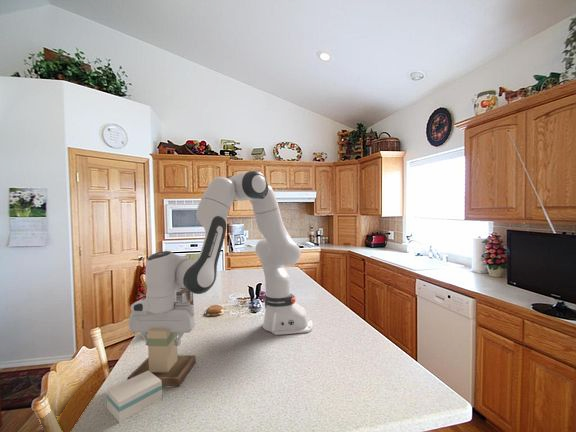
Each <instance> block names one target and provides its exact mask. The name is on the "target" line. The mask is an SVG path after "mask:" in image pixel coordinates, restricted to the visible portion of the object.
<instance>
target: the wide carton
mask: <svg viewBox="0 0 576 432" xmlns="http://www.w3.org/2000/svg"><path fill="white" fill-rule="evenodd" d="M161 398H162V399H163V386H162V380H160V379H159V378H158V377H156V376H155V375H154V374H152V373H151V372H150V371H146V372H144V373H142V374H139V375H137V376H135V377H133V378H131V379H129V380H127V379H126V380H125V381H122V382H120V383H118V384H116V385H114V386H112V387H109V388H107V389H106V404H107V405H106V406H107V407H106V408H107V410H108V412H109V413H110V414H111V415H112V414H113V415H114V416H113V415H112V416H113V417H114V418H115V420H117V422H118V421H119V422H120V423H122V422H123V421H122V420H124V419H125V420H127V419H128V418H127V417H129V416H131V415H132V416H134V415H136V414H137V412H138V413H139V411H140V410H141V411H143V410H144V408H145V409H147V408H148V406H149V405H150V406H152V405H154V404H155V402H156V401H157V402H159V401H161V400H162V399H161ZM160 399H161V400H160ZM158 400H159V401H158ZM157 402H156V403H157ZM153 403H154V404H153ZM151 404H152V405H151ZM150 406H149V407H150ZM146 407H147V408H146ZM142 409H143V410H142ZM141 411H140V412H141ZM135 413H136V414H135ZM133 414H134V415H133ZM132 416H131V417H132ZM126 418H127V419H126ZM129 418H130V417H129ZM125 420H124V421H125ZM121 421H122V422H121ZM119 422H118V423H119Z"/></svg>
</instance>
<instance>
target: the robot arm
mask: <svg viewBox="0 0 576 432" xmlns="http://www.w3.org/2000/svg"><path fill="white" fill-rule="evenodd" d="M248 200H249V201H250V203H251V205H252V211H253V213H254V214H253V215H254V217H255V218H254V219H255V221H256V226H257V229H258V231H259V232H260V234H262V236H263V237H264V238H263V239H261V240H259V241H258V242H257V243H256V245H255V253H256V255H257V257H258V259H259V261H260V263H261V267H262V270H263V274H264V283H265V284H264V286H265V293H264V301H263V302H264V308H265V311H264V317H263V322H262V328H263V329H264V330H265V331H268V332H270V333H272V334H273V335H274V336H279V335H290V334H291V335H292V334H303V333H310V332H311V331H312V330H313V328H314V323H313V320H312V319H311V318H310V317H309V316H308V314H307V313H308V312H307V311H306V309H305V308H304V307H303V306H302V305H300V304H298V303H297V302H296V301H297V300H296V299H297V298H296V297H295V294H294V293H291V277H290V275H289V273H288V272H287V270H286V268H285V267H290V266H295V265H296V264H297V263H298V262H299V261H300V259H301V253H302V251H301V248H300V246H299V245H298V244H297V243H296V242H295V241H294V240H293V238H292V237H291V236H290V234H289V232H288V230H287V229H286V227H285V224H284V221H283V218H282V214H281V210H280V205H279V203H278V199H277V197H276V194H275V191H274V190H273V188H272V186H270V185H269V183H268V180H267V179H266V176H265V175H264V174H263V173H262V172H260V171H255V170H250V171H245V172H243V171H241V172H238V173H237V174H234V175H230V176H228V177H225V176H216V177H214V178H213V179H212V180H211V181H210V183H209V184H208V186H207V187H206V189H205V191H204V192H203V194H202V197H201V198H200V201H199V203H198V206H197V208H196V209H197V210H196V213H195V215H196V218H197V221H198V223H200V225H201V226H202V227H203V229H204V231H205V236H204V240H203V243H202V247H201V248H200V252H199V256H198V258H196V259H193V258H190V257H184V256H181V255H178V254H175V253H174V252H172V251H171V250H163V251H158V252H155V253H153V254H151V255H149V256H148V257H147V259H146V263H145V271H144V272H145V274H144V275H145V284H146V287H147V288H146V294H145V297H142V298H141V299H139V300H137V301H135V302H134V303H132V304H130V311H131V313H130V314H129V319H128V320H129V322H128V323H129V325H128V326H129V327H128V328H129V331H131V333H141V337H142V338H143V340H144V342H145V346H148V330H150V329H169V332H170V333H177V338H176V340H174V343H175V344H174V346H177V347H178V346H180V345H181V343H182V337H183V335H184V333H186V334H187V333H189V334H190V333H191V332H192V331H193V330H194V328H195V327H196V326H195V325H196V322H195V312H194V311H195V308H194V307H193V306H192V305H191V304H189V303H187V302H186V303H180V302H177V301H176V289H177V288H178V287H184V288H186V289H188V290H189V291H191V292H192V293H193V294H196V295H200V294H205V293H207V292H208V291H209V290H210V289H212V287H213V286H214V284H215V282H216V279H217V275H218V274H217V273H218V272H217V271H218V268H217V267H218V262H219V259H220V256H221V251H222V247H223V244H224V241H225V237H226V233H227V220H228V216H229V212H230V210H231V208H232V205H233V203H234V202H238V201H248ZM189 305H190V306H189ZM193 314H194V315H193Z"/></svg>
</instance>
